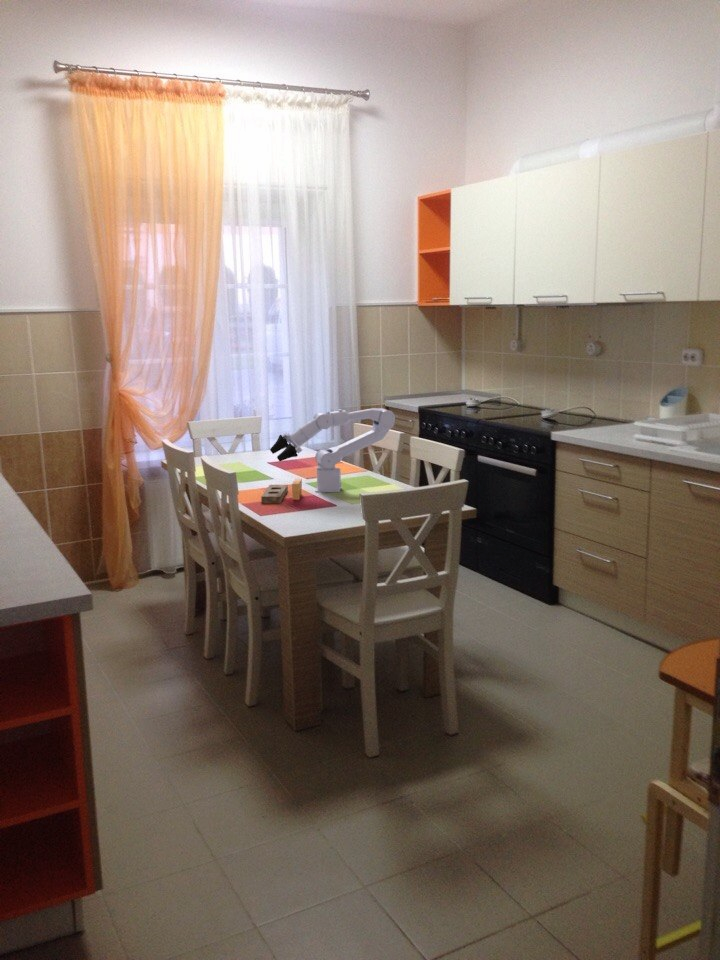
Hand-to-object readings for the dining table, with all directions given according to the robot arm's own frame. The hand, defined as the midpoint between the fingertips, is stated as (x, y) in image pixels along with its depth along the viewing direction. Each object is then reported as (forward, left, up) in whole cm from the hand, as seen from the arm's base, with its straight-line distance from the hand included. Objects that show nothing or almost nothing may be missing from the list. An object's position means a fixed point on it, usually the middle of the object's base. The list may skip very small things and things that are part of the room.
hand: (274, 455), depth 316 cm
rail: (0, +5, -15) cm, 16 cm away
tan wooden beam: (-9, +5, -15) cm, 18 cm away
